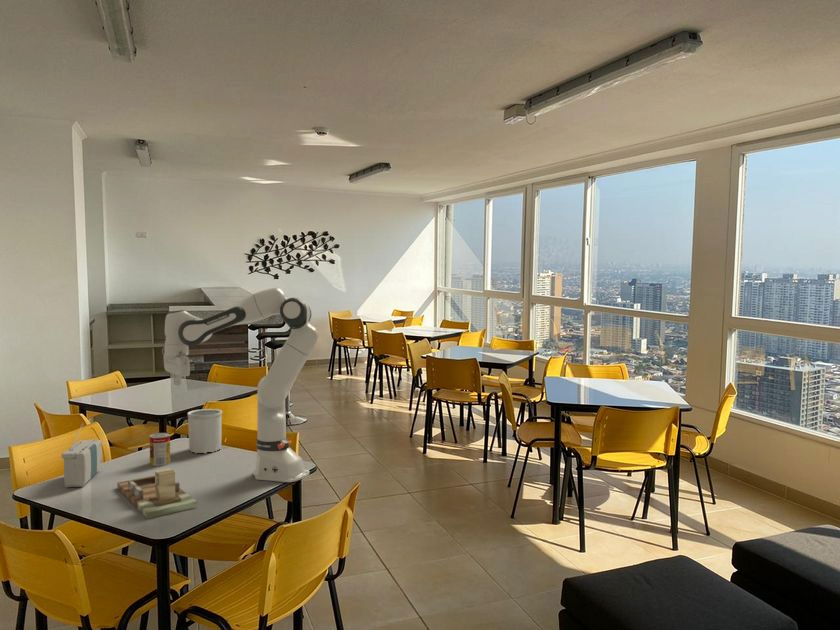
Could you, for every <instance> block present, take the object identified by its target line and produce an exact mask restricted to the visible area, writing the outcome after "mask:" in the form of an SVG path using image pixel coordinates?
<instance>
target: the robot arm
mask: <svg viewBox="0 0 840 630" xmlns="http://www.w3.org/2000/svg"><path fill="white" fill-rule="evenodd" d="M275 315H278V316H280V317H281V319H282V320H283V322H285V324H286V325H287V326H288V328H290V330H291V331H290V334H289V336H288V338H287V339H286V341H285V342H284V344H283V345H282V347H281V349H280V350H279V352H278V353H277V355H276V357H275V359H274V361H273V362H272V364H271V366H270V368H269V370H268V371H267V373H266V375H264V376H263V377H261V379H260V380H259V381H258V384H257V388H256V389H257V391H256V392H257V393H256V395H257V438H256V451H257V453H256V461H255V467H254V470H253V476H254V477H255V478H254V479H255V480H260V481H267V482H268V481H269V482H270V481H271V482H281V483H292V482H293V483H294V482H298V481H300V480H302V479H305V478H307V477H308V476H309V475H310V470H309V469H306V468H305V466H304V461H303V459H302V457H301V456H300V455H298V453H296V452H295V451H294V450H293V449H292V448H291V447H290V444H291V443H292V440H288V437H287V435H286V434H287V426H286V425H287V424H286V423H287V417H286V415H287V414H286V413H287V412H286V411H287V410H286V398H287V397H288V395H289V393H290V391H291V389H292V387H293V385H294V384H295V382H296V380H297V378H298V376H299V374H300V372H301V371H302V369H303V367H304V366H305V364H306V362H307V361H308V359H309V358H310V356H311V354H312V352H313V350H314V348H315V346H316V344H317V341H318V339H319V331H318V330H317V328H316V327H315V326H313V325H312V324H311V323H310V321H311V319H312V309H311V308H310V306H309V304H307V302H305V301H304V300H302V299H300V298H298V297H290V298H289V297H287V296H286V293H285V292H284V291H283V290H282V289H281V288H279V287H271V288H267V289H263V290H260V291H257V292H255V293H252V294H250V295H248V296H246V297H244V298H242V299H240V300H239V301H238V302H236V303H234V304H233V305H231V306H230V307H228V308H227V309H225V310H223V311H221V312H218V313H215V314H214V315H211V316H209V317H206V318H201V317H199V316H195V315H193V314H191V313H189V312H188V311H187V310H176V311H170V312H169V313H167V314H166V316H165V320H164V335H165V341H164V346H163V348H162V349H161V352H162V354H163V367H164V370H165V372H167V373H170V374H171V375H172V376H171V377H172V380H173V385H175V386H181V383H182V382H181V381H182V377H190V374H191V366H190V358H189V357H188V356H189V352H190V351H189V350H190V349H189V347H196V346H198V345H200V344H201V343H204V342H206V341H208V340H210V339H211V338H212V337H213V334H214V333H217V332H219V331H222V330H224V329H226V328H230V327H232V326H239V325H245V324H252V323H256V322H259V321H260V322H261V321H262V320H265V319H267V318H270V317H271V316H275Z"/></svg>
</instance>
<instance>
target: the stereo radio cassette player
mask: <svg viewBox="0 0 840 630" xmlns="http://www.w3.org/2000/svg"><path fill="white" fill-rule="evenodd" d="M83 425H84V423H81V426H80V428H79V430H78V431H77V433H76V435H75V438H74V440H73V442H72V444H71V447H69V448H68V449H66V450H65V451H63V453H61V456H60V457H61V459H63V472H64V473H63V479H64V481H63V482H64V487H65V488H79V487H80V488H83V487H84V486H86V484H87V483H88V482H89V481H90V480H91V479H92V478H93V477H94V476H96V475H97V473H99V472H100V471H101V470H102V467H103V447H102V446H103V445H102V440H101V439H81V440H78V442H76V441H77V439H78V436H79V434H80V431H81V429H82V427H83Z"/></svg>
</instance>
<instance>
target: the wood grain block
mask: <svg viewBox="0 0 840 630" xmlns="http://www.w3.org/2000/svg"><path fill="white" fill-rule="evenodd" d="M154 476H155V496H150V497H149V499H150V500H151V501H152V502H153V503H154V504H155V505H157V506H158V505H163V504H167V503H172V502H176V501H181V497H179V496H178V495H177V494H176V493H175V480H176V472H175V471H174V470H173V469H172V468H165V469H164V468H163V469H159V470H155V471H154Z"/></svg>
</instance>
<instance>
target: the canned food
mask: <svg viewBox="0 0 840 630" xmlns="http://www.w3.org/2000/svg"><path fill="white" fill-rule="evenodd" d="M169 464H171V434H170V433H168V432H159V433H153V434H150V435H149V465H150V466H153V467H163V466H167V465H169Z"/></svg>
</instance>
